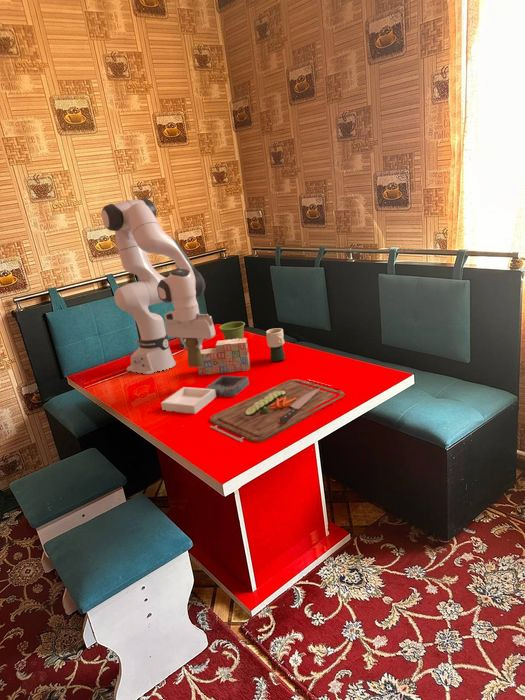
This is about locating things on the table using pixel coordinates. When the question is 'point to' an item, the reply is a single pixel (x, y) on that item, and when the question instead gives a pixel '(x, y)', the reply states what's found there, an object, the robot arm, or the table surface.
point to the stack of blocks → (225, 357)
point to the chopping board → (273, 410)
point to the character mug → (276, 343)
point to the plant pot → (233, 330)
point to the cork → (193, 353)
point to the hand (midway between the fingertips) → (193, 348)
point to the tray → (188, 400)
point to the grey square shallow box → (228, 385)
